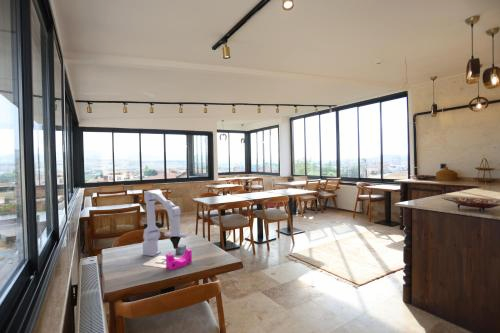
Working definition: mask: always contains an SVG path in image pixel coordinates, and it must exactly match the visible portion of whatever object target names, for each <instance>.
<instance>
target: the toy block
mask: <svg viewBox="0 0 500 333" xmlns="http://www.w3.org/2000/svg"><path fill="white" fill-rule="evenodd" d="M165 256H166V267H167V269H168V270H170V271H173V270H176V269H178V268H182V267H185V266H187V265H188V264H191V263H192V262H193V258H192V256H193V250H192V249H191V248H186V251H185V253H184V254H182V256H181V257H178V258H179V259H174V254H172V253H171V252H170V253H167V254H165Z"/></svg>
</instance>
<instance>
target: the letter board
mask: <svg viewBox="0 0 500 333" xmlns="http://www.w3.org/2000/svg"><path fill="white" fill-rule="evenodd" d="M173 257H174V256H173ZM179 258H180V257H174V259H179ZM141 265H142V266H146V267H155V268H161V269H166V268H167V267H166V255H157V256H156V257H155V256H154V258H151V259H150V260H148V261H146V262H144V263H143V264H141ZM167 269H168V268H167Z"/></svg>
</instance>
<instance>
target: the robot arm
mask: <svg viewBox="0 0 500 333" xmlns="http://www.w3.org/2000/svg"><path fill="white" fill-rule="evenodd" d="M143 195H144V196H143V198H144V199H143V200H144V203H145V204H146V205H145V206H146V208H145V209H146V224H147V227H146V228H144V230H143V235H142V237H143V243H142V254H141V255H143V256H148V257H149V256H151V257H155V256H156V255H158V254H160V253H162V252H161V251H159V246H158V244H159V239H160V238H161V232H160V228H159V227H158V226H157V225H156V213H155V212H156V211H155V203H156V202H157V201H158V202H159V203H160V204H162V208H163V209H164V210H165V211H166V212H167V215H168V219H169V223H170V224H169V225H170V232H169V231H167V232H164V237H170V238H169V240H170V242H171V244H172V246H173V249H174V250H176V249H177V248H178V245H179V244H180V241H181V238H183V239H186V238H187V233H182V232H181V220H180V218H181V217H180V216H181V215H182V208H181V206H179V205H178V206H177V205H175V204H174V202H172V200H169V199H167V198H166V197H165V196H164V195H163V191H162V190H161V189H160V188H159V189H152V190H146V191H145V192H144V194H143Z"/></svg>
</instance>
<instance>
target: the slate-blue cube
mask: <svg viewBox="0 0 500 333" xmlns="http://www.w3.org/2000/svg"><path fill="white" fill-rule="evenodd" d="M186 249H187V245H186V244H181V243H179V244H178V248H177V249H175V254H176V255H182V256H183V255H184V254H185V251H186Z"/></svg>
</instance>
